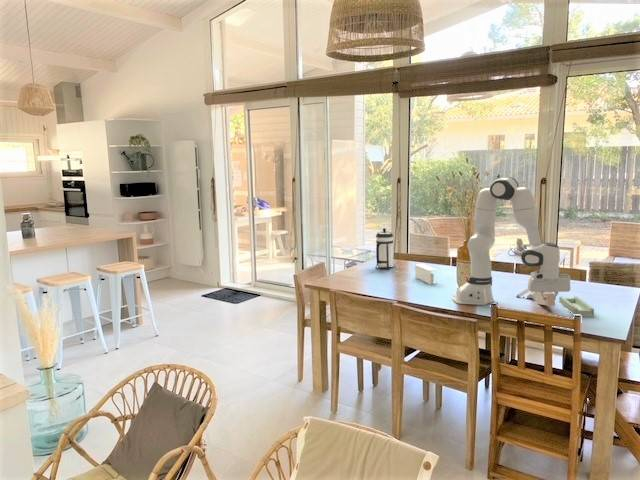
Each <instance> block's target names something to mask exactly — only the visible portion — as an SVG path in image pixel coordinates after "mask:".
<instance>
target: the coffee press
mask: <svg viewBox="0 0 640 480" xmlns="http://www.w3.org/2000/svg"><path fill="white" fill-rule="evenodd" d="M393 237H394V235H393V233H392V232H391V231H387V229H386V228H383V229H382V231H379V232H377V233H376V235H375V238H376V240H375V244H376V248H375V250H376V252H375V254H376V265H375V269H379V268H386V270H387V271H388V270H390V267H392V268H395V267H396V265H395V264H394V238H393Z"/></svg>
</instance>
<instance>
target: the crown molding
mask: <svg viewBox="0 0 640 480" xmlns="http://www.w3.org/2000/svg"><path fill="white" fill-rule="evenodd" d="M528 292H529V289H528V288H526V289H525V290H523V291H522V292H520V293H518V294H517V295H516V296H518V297H517V298H519V297H521V296H523V295H524V294H526V293H528ZM538 293H540V292H533V293H531V294H529V295H528V296H527V298H528V299H530V298H532V300H534V299H536V298H538ZM544 293H546V292H544Z"/></svg>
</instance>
